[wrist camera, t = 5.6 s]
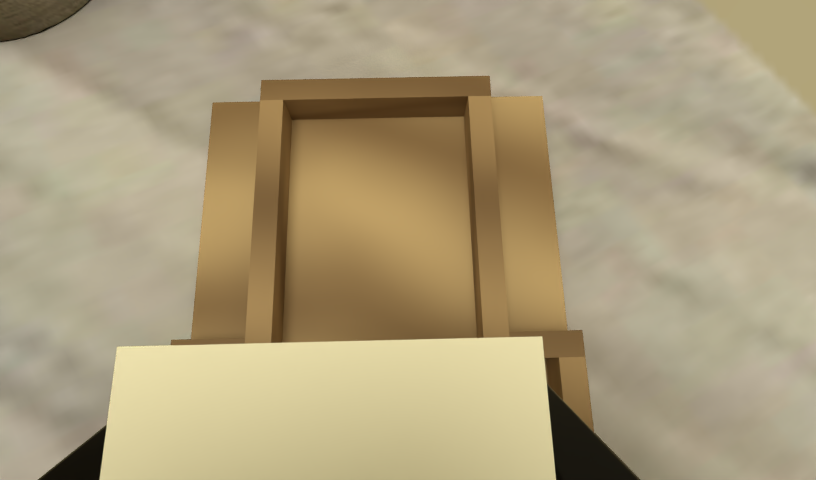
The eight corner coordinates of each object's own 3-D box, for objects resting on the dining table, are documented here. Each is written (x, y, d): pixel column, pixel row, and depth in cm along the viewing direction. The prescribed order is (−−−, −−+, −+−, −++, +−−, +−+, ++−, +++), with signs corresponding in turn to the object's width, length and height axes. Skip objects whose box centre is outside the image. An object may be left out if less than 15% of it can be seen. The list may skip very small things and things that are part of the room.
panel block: (465, 505, 14) (582, 759, 5) (293, 510, 14) (59, 774, 5) (458, 364, 15) (541, 336, 6) (298, 367, 15) (117, 346, 6)
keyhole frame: (595, 629, 15) (620, 663, 13) (168, 641, 15) (136, 677, 13) (539, 101, 19) (552, 74, 18) (216, 108, 19) (197, 81, 18)
